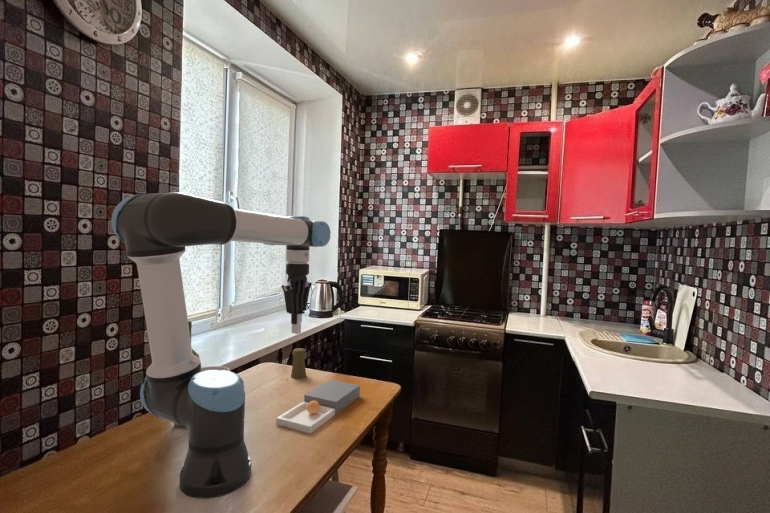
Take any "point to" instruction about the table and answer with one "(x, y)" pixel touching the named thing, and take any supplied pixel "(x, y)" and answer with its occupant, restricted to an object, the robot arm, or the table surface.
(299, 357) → the cork
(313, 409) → the ball
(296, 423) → the tray
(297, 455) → the table surface
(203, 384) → the robot arm
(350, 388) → the deck
